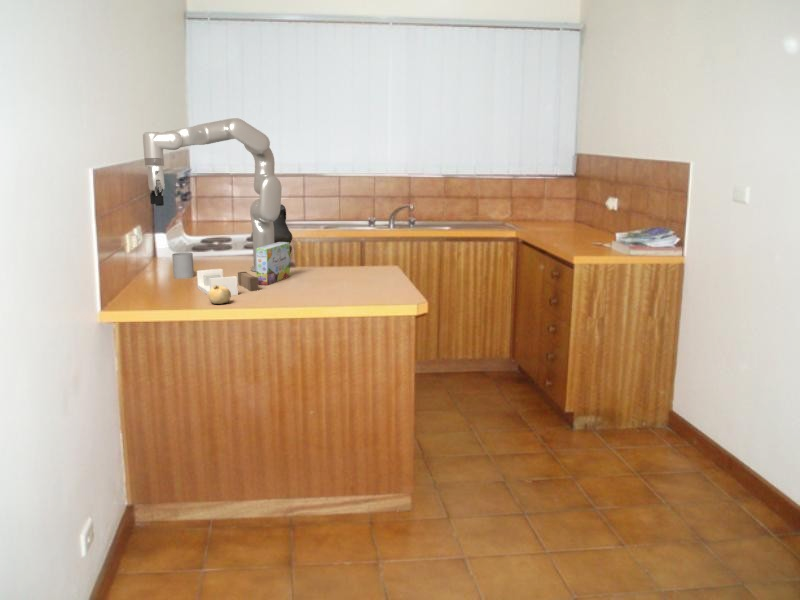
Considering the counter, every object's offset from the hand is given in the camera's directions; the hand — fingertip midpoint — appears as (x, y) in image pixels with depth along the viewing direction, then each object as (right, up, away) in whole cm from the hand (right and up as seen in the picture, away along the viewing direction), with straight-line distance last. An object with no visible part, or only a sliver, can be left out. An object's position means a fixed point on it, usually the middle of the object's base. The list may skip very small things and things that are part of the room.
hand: (157, 204), depth 323 cm
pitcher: (+37, -17, +70) cm, 81 cm away
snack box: (+48, -32, +2) cm, 58 cm away
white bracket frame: (+30, -36, -20) cm, 51 cm away
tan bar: (+40, -34, -13) cm, 54 cm away
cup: (+8, -30, +11) cm, 33 cm away
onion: (+36, -41, -41) cm, 68 cm away
